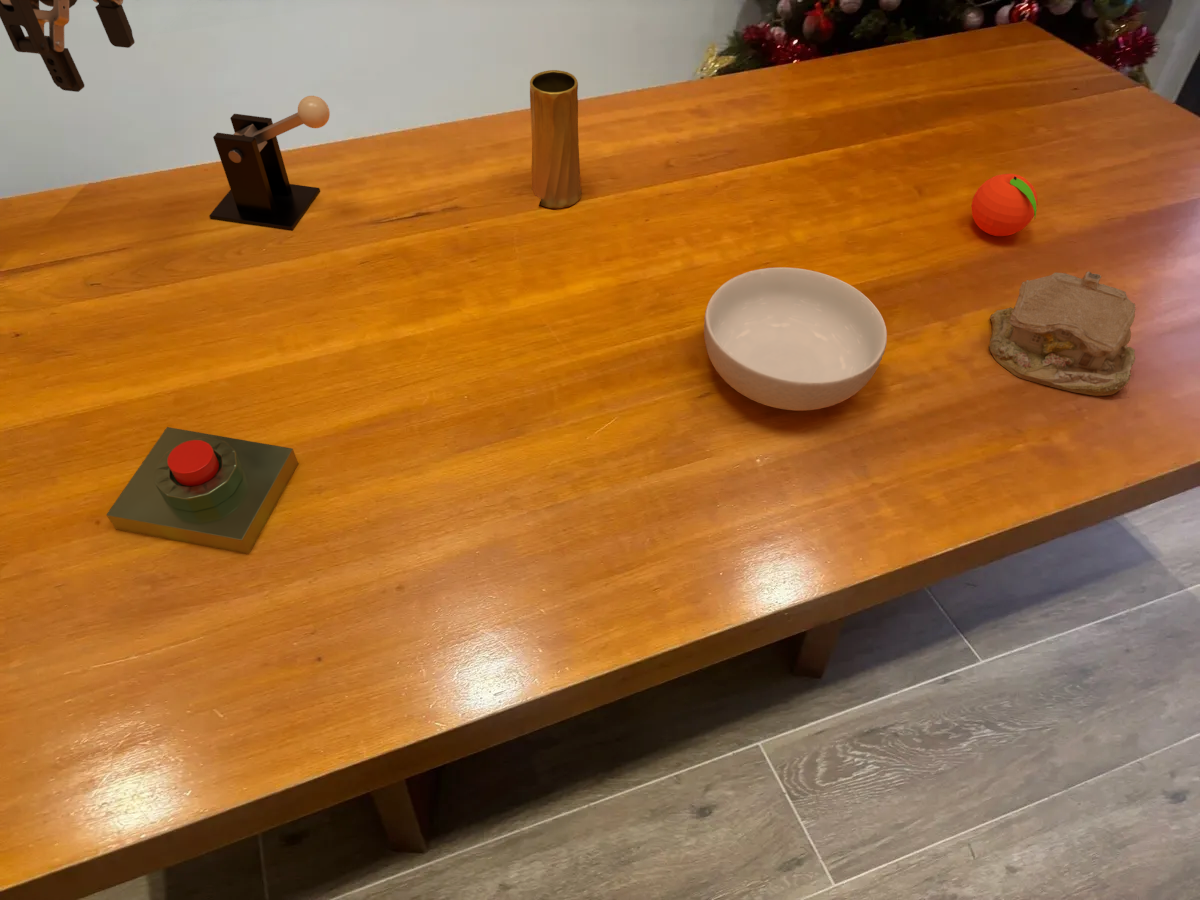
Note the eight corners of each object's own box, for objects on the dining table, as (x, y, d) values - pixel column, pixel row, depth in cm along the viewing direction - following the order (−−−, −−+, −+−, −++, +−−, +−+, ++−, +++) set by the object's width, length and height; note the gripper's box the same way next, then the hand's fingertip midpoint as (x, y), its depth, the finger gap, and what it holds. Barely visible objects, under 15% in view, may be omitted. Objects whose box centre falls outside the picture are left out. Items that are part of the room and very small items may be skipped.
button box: (116, 530, 76) (96, 501, 73) (175, 442, 82) (159, 412, 79) (249, 555, 74) (235, 527, 71) (298, 464, 81) (288, 434, 78)
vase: (520, 193, 109) (514, 80, 98) (557, 174, 112) (555, 62, 101) (554, 215, 106) (552, 101, 95) (591, 195, 109) (593, 82, 98)
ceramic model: (970, 360, 91) (1006, 282, 84) (998, 299, 98) (1034, 221, 90) (1114, 414, 87) (1166, 336, 79) (1134, 346, 93) (1184, 268, 85)
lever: (340, 112, 95) (321, 85, 93) (328, 128, 93) (308, 100, 91) (254, 151, 101) (234, 126, 99) (241, 166, 99) (221, 141, 97)
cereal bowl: (881, 341, 93) (899, 287, 87) (854, 457, 83) (873, 404, 77) (722, 302, 96) (730, 248, 91) (677, 408, 86) (684, 355, 81)
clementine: (1043, 244, 104) (1068, 191, 99) (996, 260, 102) (1020, 206, 97) (996, 207, 109) (1018, 154, 103) (950, 221, 107) (970, 168, 101)
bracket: (322, 198, 107) (301, 114, 99) (294, 238, 102) (270, 152, 94) (244, 187, 108) (216, 103, 100) (212, 226, 103) (181, 141, 95)
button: (166, 482, 75) (158, 469, 73) (187, 450, 77) (180, 436, 76) (206, 489, 74) (199, 476, 73) (226, 457, 76) (220, 443, 75)
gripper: (24, -162, 77) (105, 29, 89) (-91, -103, 68) (16, 101, 80) (104, -157, 76) (174, 36, 88) (-3, -96, 67) (92, 109, 79)
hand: (99, 66), depth 84 cm, fingers open, 8 cm apart
